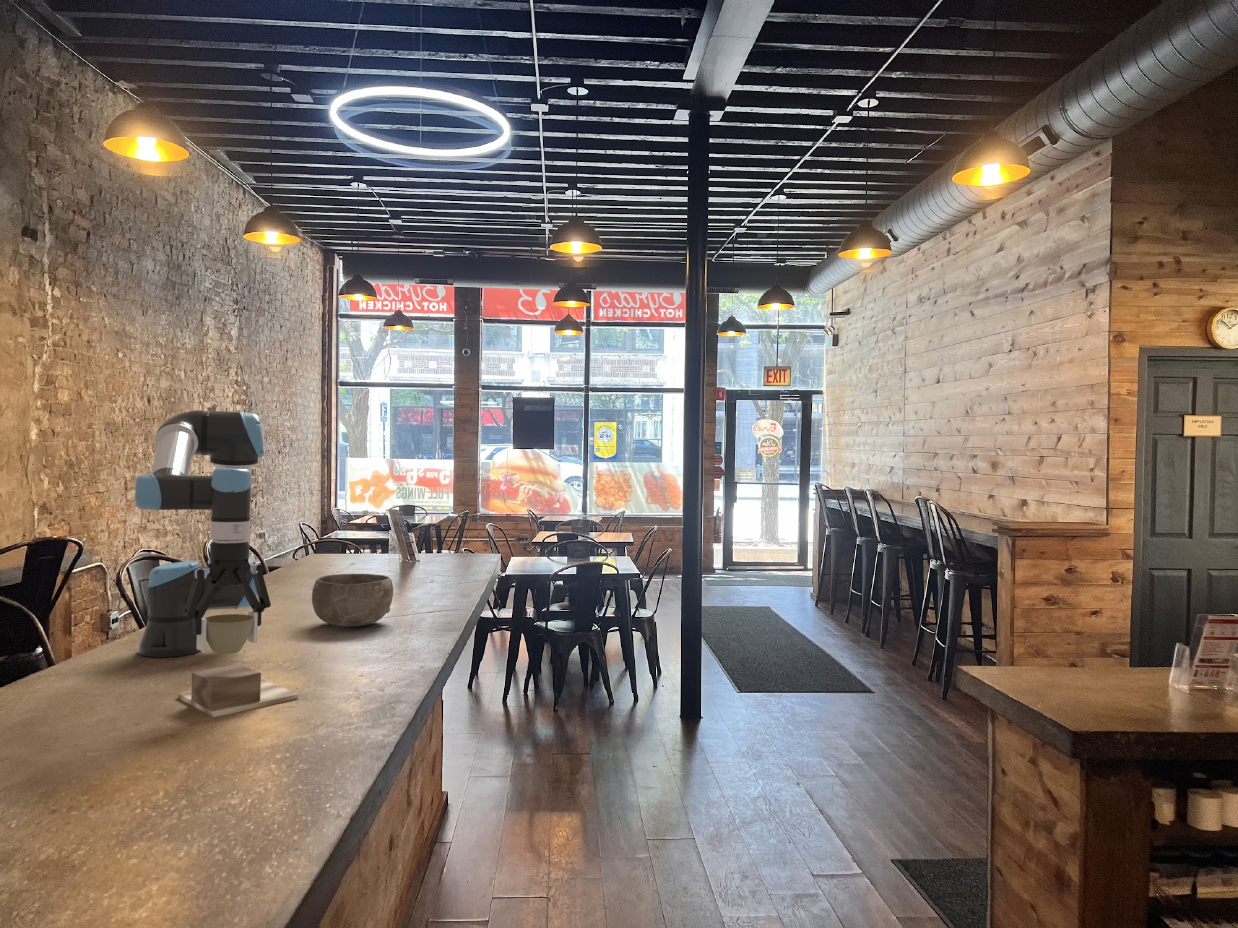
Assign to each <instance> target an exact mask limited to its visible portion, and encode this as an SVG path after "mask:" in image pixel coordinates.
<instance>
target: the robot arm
mask: <svg viewBox="0 0 1238 928" xmlns="http://www.w3.org/2000/svg"><path fill="white" fill-rule="evenodd" d="M262 430H263V429H262V422H261V418H260V416H259V415H257V414H256V413H252V412H245V411H243V412H242V411H224V410H222V411H221V410H220V411H219V410H201V409H200V410H197V409H196V410H188V411H186V412H181V413H180V414H177V415H174V416H172V417H171V418H169V419H167V420H166V421H164V423H162V424H161V426H159V428H158V429H157V431H156V433H155V436H154V447H155V450H156V451H155V455H154V459H153V463H152V467H151V471H150V473H149V474H141V475H138V477H136V479H135V480H136V481H135V489H134V493H135V494H134V499H135V506H136V507H137V508H138V509H139V510H152V511H184V510H185V511H187V510H189V511H192V510H193V511H197V510H198V511H199V510H200V511H201V510H205V511H211V512H210V513H211V517H210V534H209V536H210V540H211V541H212V542H211V543H210V544H209V546H210V547H209V559H208V560H207V566H200V563H199V561H196V560H190V561H186V560H185V561H177V562H173V563H172V562H171V563H167V564H162V565H159V566H156V567H154V568H151V570H150V572H149V575H148V584H147V588H148V597H147V598H148V600H147V601H148V602H147V603H148V604H147V624H146V626H145V629H144V631H143V634H142V637H141V639H140V642H139V646H138V654H139V655H141V656H144V657H148V658H172V657H180V656H181V657H182V656H187V655H192V654H195V653H198V652H205V651H207V640H206V624H207V619H205V617H204V615H206V612H207V611H209V610H211V611H212V610H231V609H234V610H238V609H243V608H250V607H251V609H252V610H249V611H247V613H248V614H247V615H251V616H253V617H254V621H253V625H252V629H251V632H250V634H249V637H248V639H247V642H250V643H253V644H256V643H258V627H261V626H262V613H263V612H264V611H265V609H267V608H268V609H269V608H270V607H271V605H272V604H271V599H270V597H269V593H268V589H267V586H266V581H265V577H264V569H265V568H264V567H265V566H264V565H263V564H261V563H257V562H256V558H255V557H254V556H252V555H251V554H250V539H251V511H252V510H251V509H252V505H251V504H252V503H251V502H252V484H253V483H252V477H253V476H252V475H253V468H254V467H256V466H257V465H258V464H259V458H262V457H264V456H265V451H264V442H263V441H264V439H263V431H262ZM192 456H209V463H210V464H212V466H213V467H215V469H213V471H212V475H190V472H191V471H190V470H191V464H192Z"/></svg>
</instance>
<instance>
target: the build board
mask: <svg viewBox="0 0 1238 928" xmlns="http://www.w3.org/2000/svg"><path fill="white" fill-rule="evenodd" d="M191 692H192V690H189V691H188V690H187V691H183V692H178V693H177V699H179V700H181V701H183V702H184V703H186V704H188V705H190V706H192V707H194V708H196V709H197V710H199V711H201V712H202V713H205V714H206V715H209V716H211V717H212V718H217V717H221V716H222V717H223V716H226V715H231V714H235V713H240V712H243V711H244V712H245V711H249V710H252V709H253V710H254V709H258V708H262V707H267V706H271V705H275V704H280V703H286V702H289V701H294V700H298V699H299V693H297V692H294V691H292V690H289V689H288V688H285V687H283V686H280V685H279V684H275V683H273V682H271V681H268V680H266V679H264V678H262V677H261V690H260V701H257V702H253V703H248V704H244V705H239V706H234V707H230V708H225V709H220V710H216V711H210V710H208V709H206V708H205V707H203V706H201V705H199V704H197V703H195V702H193V701H191Z"/></svg>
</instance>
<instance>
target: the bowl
mask: <svg viewBox="0 0 1238 928" xmlns="http://www.w3.org/2000/svg"><path fill="white" fill-rule="evenodd" d="M393 597H394V584H393V580H392V578H391V577H390V576H388V575H383V574H376V573H375V574H373V573H341V574H330V575H329V574H328V575H323V576H320V577H317V579H316V580H315V582H314V584H313V587H312V592H311V602H312V608H313V610H314V611H313V612H314V613H315V615H316V616H317V617H318V618H319V619H320V620H321V621H322V622H324V623H326V624H329V625H331V626H336V627H342V628H343V627H344V628H345V627H348V628H349V627H350V628H351V627H363V626H368V625H371V624H375V623H377V622H378V621H380V620H382V619H383V617H384V616H386V614H389V613H390V611H391V605H392V603H393Z"/></svg>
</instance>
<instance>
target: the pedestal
mask: <svg viewBox="0 0 1238 928" xmlns="http://www.w3.org/2000/svg"><path fill="white" fill-rule="evenodd" d="M261 678H262V672H259V671H258V670H255V669H252V668H250V667H248V666H247V665H246V666H245V665H243V664H241V663H237V664H231V665H225V666H220V667H214V668H208V669H203V670H197V671H193V672H191V691H192V692H191V701H193V702H195V703H197V704H199V705H201V706H203V707H205V708H206V709H208V710H210V711H216V710H220V709H225V708H230V707H234V706H239V705H244V704H248V703H253V702H257V701H260V690H261Z"/></svg>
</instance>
